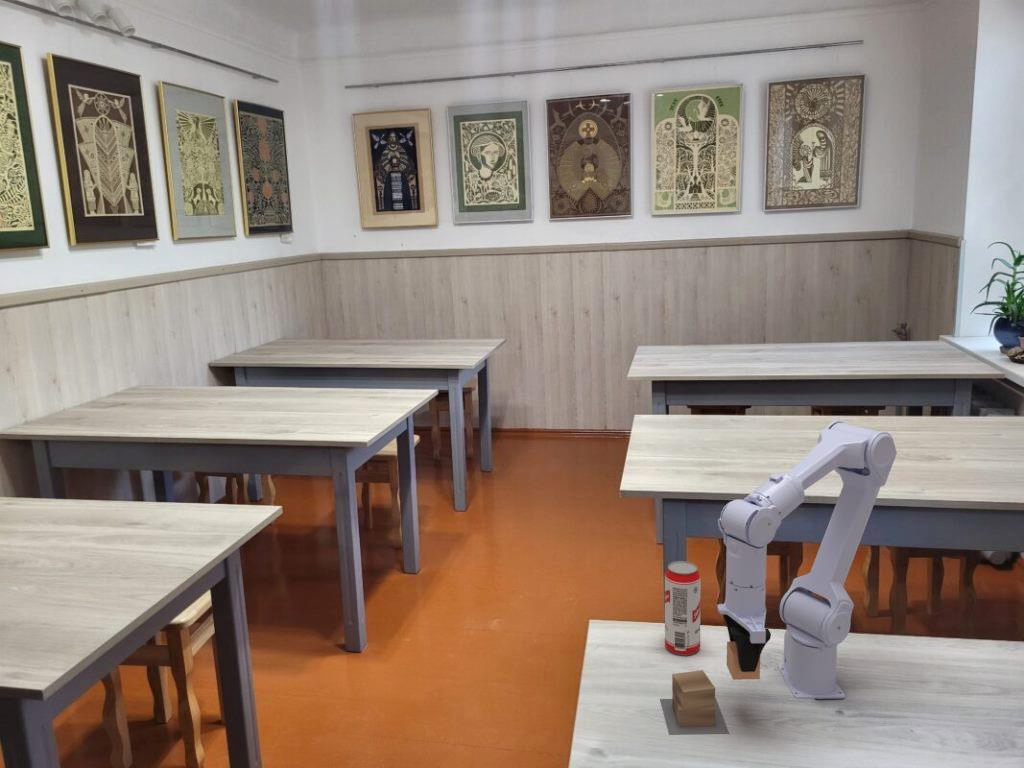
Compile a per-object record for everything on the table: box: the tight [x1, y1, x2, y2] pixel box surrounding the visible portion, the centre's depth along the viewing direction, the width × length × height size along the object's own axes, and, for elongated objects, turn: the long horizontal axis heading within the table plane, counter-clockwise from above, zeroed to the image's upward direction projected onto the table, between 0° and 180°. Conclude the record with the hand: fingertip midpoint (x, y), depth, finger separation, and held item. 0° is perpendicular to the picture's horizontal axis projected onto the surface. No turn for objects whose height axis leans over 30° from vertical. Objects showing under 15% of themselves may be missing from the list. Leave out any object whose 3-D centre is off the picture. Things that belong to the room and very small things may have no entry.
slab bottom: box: [671, 690, 715, 727], centre depth 121 cm, size 6×6×3 cm
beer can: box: [664, 560, 702, 656], centre depth 139 cm, size 6×6×16 cm
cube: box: [726, 641, 761, 681], centre depth 119 cm, size 4×4×4 cm
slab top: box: [671, 669, 716, 710], centre depth 120 cm, size 5×5×3 cm
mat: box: [659, 697, 730, 736], centre depth 121 cm, size 9×9×1 cm
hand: (743, 662), depth 119 cm, fingers closed on cube, 4 cm apart
